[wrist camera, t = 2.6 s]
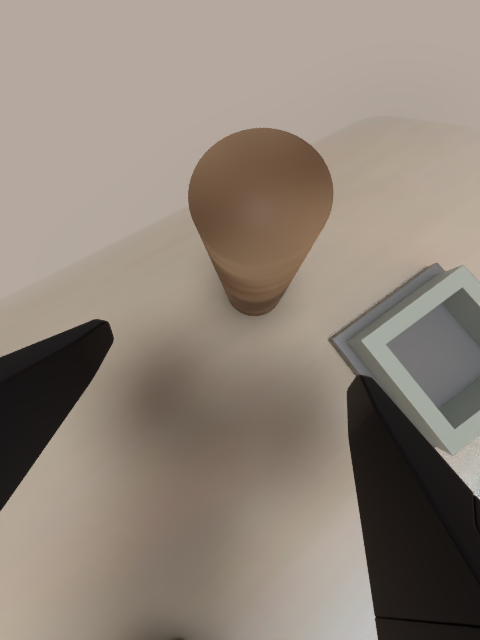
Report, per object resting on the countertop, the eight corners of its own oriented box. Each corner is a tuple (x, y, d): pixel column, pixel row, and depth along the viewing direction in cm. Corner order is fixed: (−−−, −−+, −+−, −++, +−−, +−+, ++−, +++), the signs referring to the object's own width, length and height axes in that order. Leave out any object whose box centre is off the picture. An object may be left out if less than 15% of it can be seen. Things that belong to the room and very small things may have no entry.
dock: (519, 369, 19) (580, 375, 15) (414, 450, 19) (452, 473, 15) (428, 266, 20) (464, 249, 17) (328, 339, 20) (345, 337, 16)
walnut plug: (293, 294, 21) (364, 204, 8) (248, 326, 20) (243, 291, 8) (260, 251, 21) (274, 102, 8) (216, 283, 21) (161, 180, 8)
